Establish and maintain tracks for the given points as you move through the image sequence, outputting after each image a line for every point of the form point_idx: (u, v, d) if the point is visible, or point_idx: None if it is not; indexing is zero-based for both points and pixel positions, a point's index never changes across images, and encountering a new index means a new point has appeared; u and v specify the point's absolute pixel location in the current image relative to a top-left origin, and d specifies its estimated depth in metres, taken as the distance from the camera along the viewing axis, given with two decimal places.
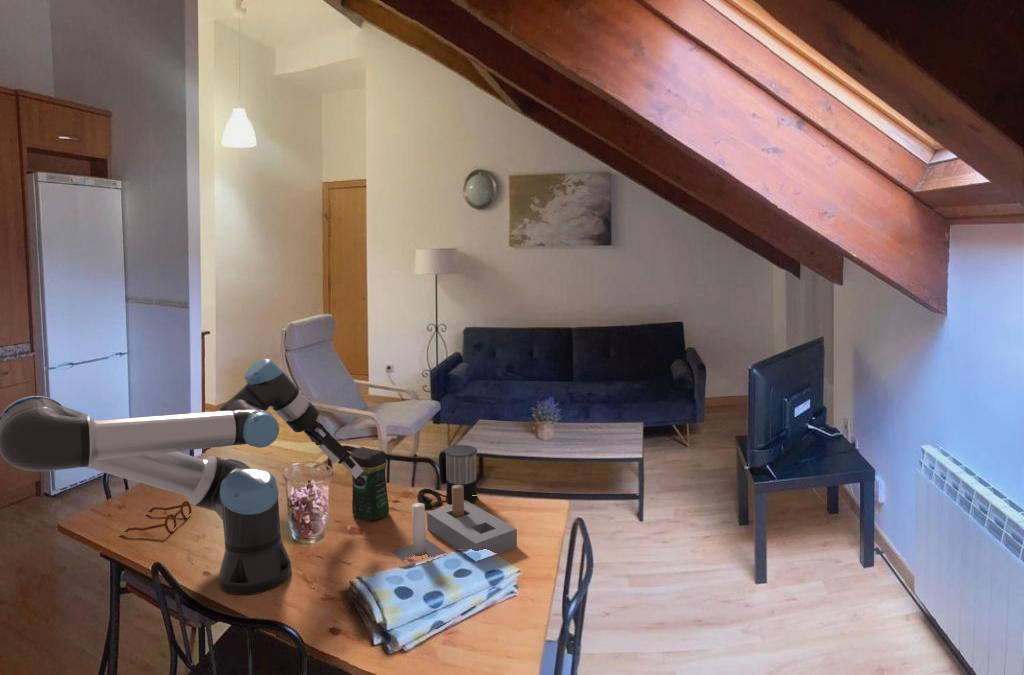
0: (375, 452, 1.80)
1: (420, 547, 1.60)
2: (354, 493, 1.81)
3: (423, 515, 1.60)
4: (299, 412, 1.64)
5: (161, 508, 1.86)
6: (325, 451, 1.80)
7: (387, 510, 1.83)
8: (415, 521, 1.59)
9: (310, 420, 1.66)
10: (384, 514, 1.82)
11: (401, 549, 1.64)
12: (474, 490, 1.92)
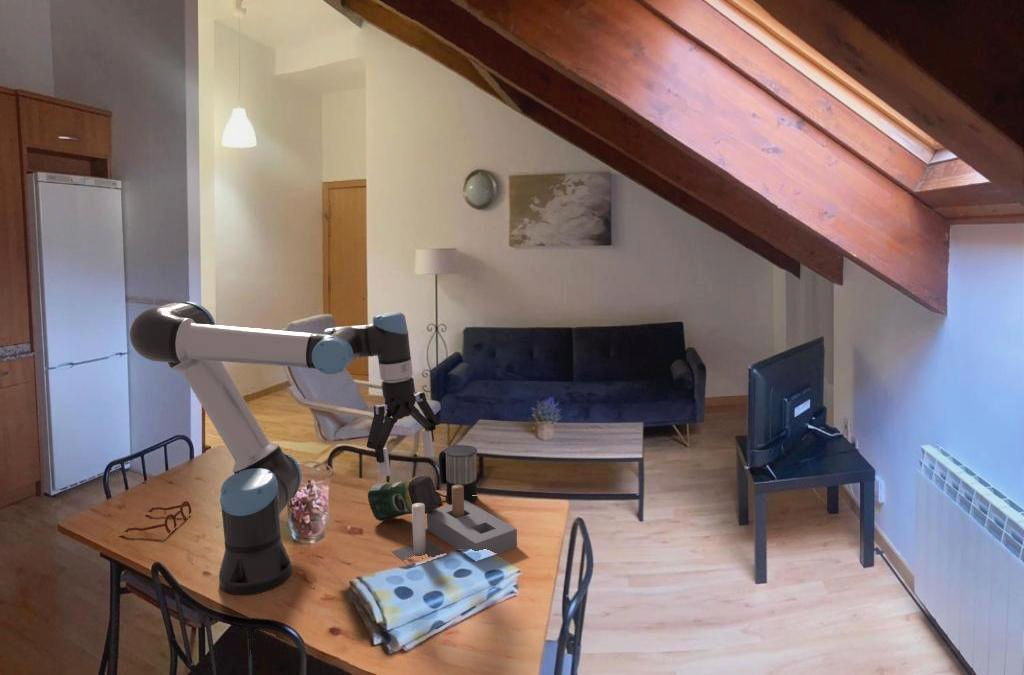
0: (433, 505, 1.72)
1: (420, 547, 1.60)
2: (386, 498, 1.75)
3: (423, 515, 1.60)
4: (383, 378, 1.56)
5: (161, 508, 1.86)
6: (423, 438, 1.67)
7: None
8: (415, 521, 1.59)
9: (386, 392, 1.56)
10: None
11: (401, 549, 1.64)
12: (474, 490, 1.92)
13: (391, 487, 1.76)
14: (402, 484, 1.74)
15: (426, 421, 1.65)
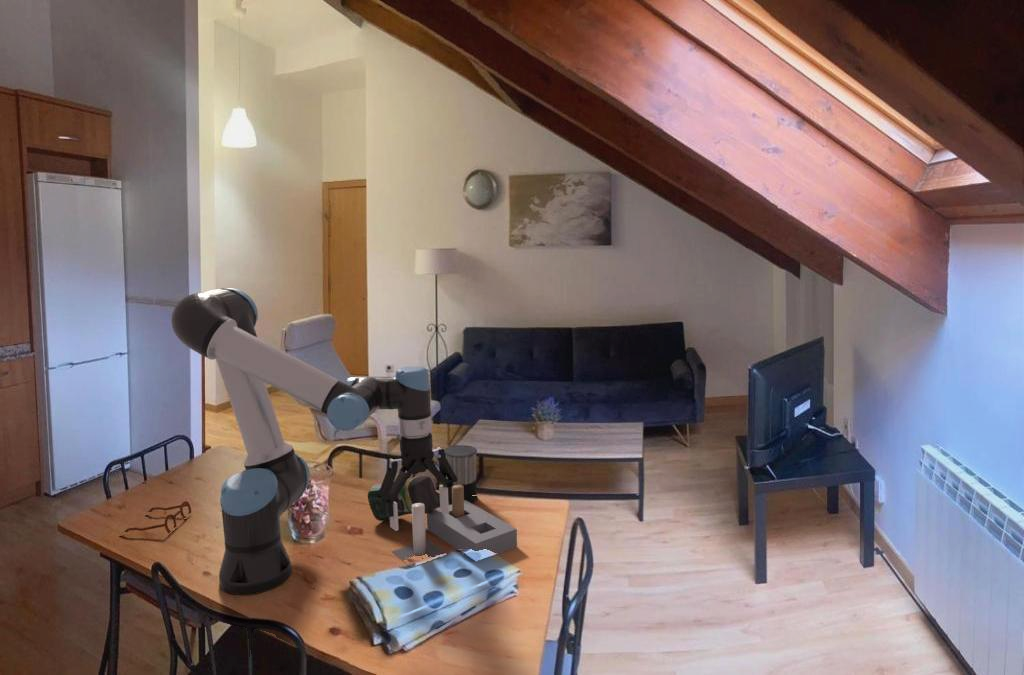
0: (433, 505, 1.72)
1: (420, 547, 1.60)
2: None
3: (423, 515, 1.60)
4: (400, 432, 1.55)
5: (161, 508, 1.86)
6: (440, 493, 1.65)
7: None
8: (415, 521, 1.59)
9: (402, 447, 1.55)
10: None
11: (401, 549, 1.64)
12: (474, 490, 1.92)
13: None
14: None
15: (443, 478, 1.62)
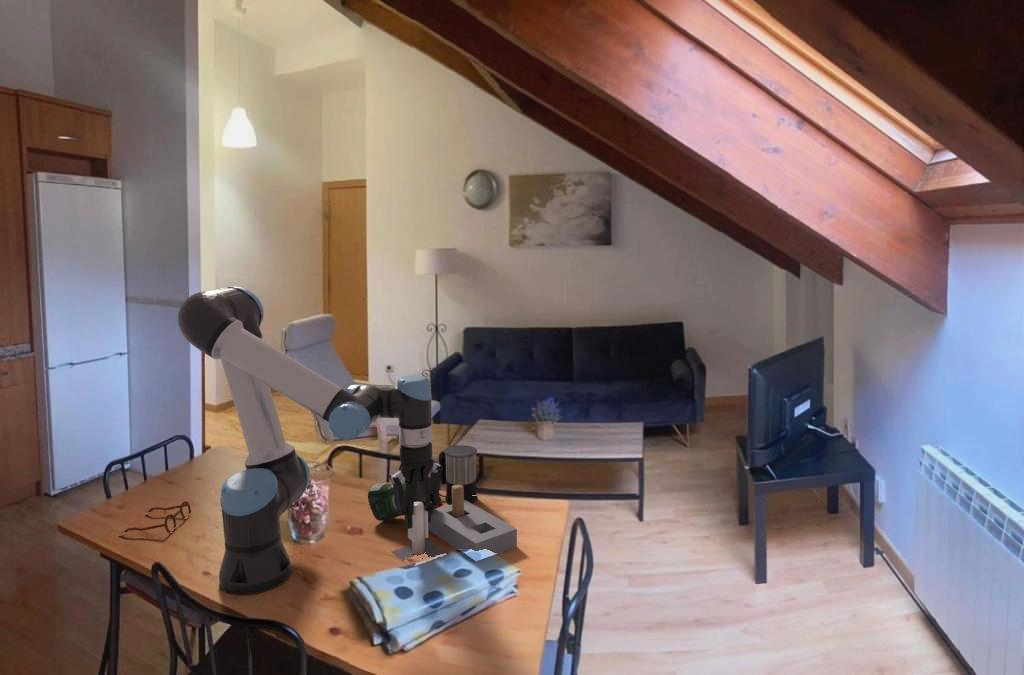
0: None
1: (419, 546, 1.60)
2: (386, 498, 1.75)
3: (422, 514, 1.60)
4: (400, 441, 1.55)
5: (160, 508, 1.86)
6: None
7: None
8: None
9: (402, 456, 1.55)
10: None
11: (401, 549, 1.64)
12: (474, 490, 1.92)
13: (391, 487, 1.76)
14: (402, 484, 1.74)
15: (428, 498, 1.60)
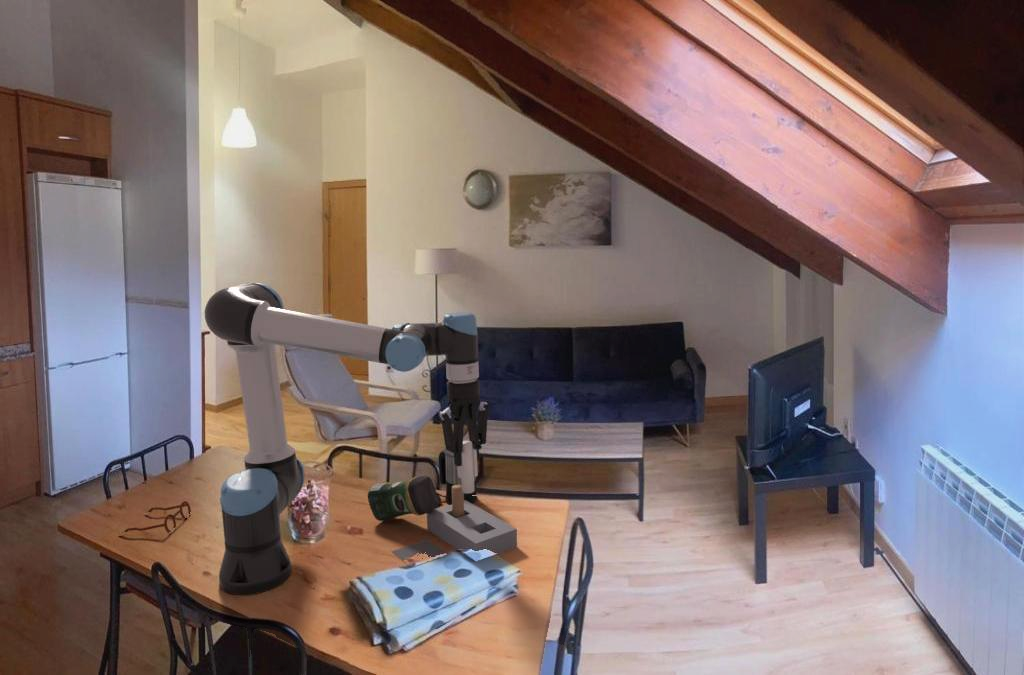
0: (433, 505, 1.72)
1: (469, 484, 1.60)
2: (386, 498, 1.75)
3: (471, 452, 1.60)
4: (448, 377, 1.55)
5: (160, 508, 1.86)
6: None
7: None
8: None
9: (450, 393, 1.55)
10: None
11: (401, 549, 1.64)
12: None
13: (391, 487, 1.76)
14: (402, 484, 1.74)
15: (476, 436, 1.60)
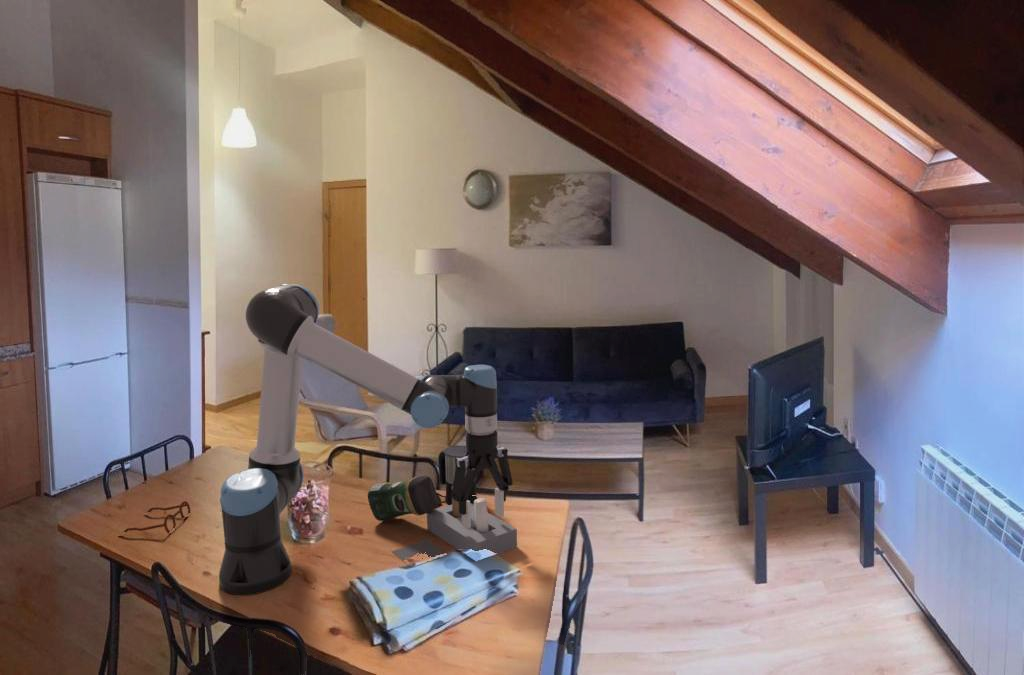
0: (433, 505, 1.72)
1: None
2: (386, 498, 1.75)
3: (486, 510, 1.63)
4: (467, 429, 1.58)
5: (160, 508, 1.85)
6: (495, 496, 1.67)
7: None
8: (478, 516, 1.63)
9: (469, 444, 1.58)
10: None
11: (401, 549, 1.64)
12: (473, 491, 1.91)
13: (391, 487, 1.76)
14: (402, 484, 1.74)
15: (501, 479, 1.65)
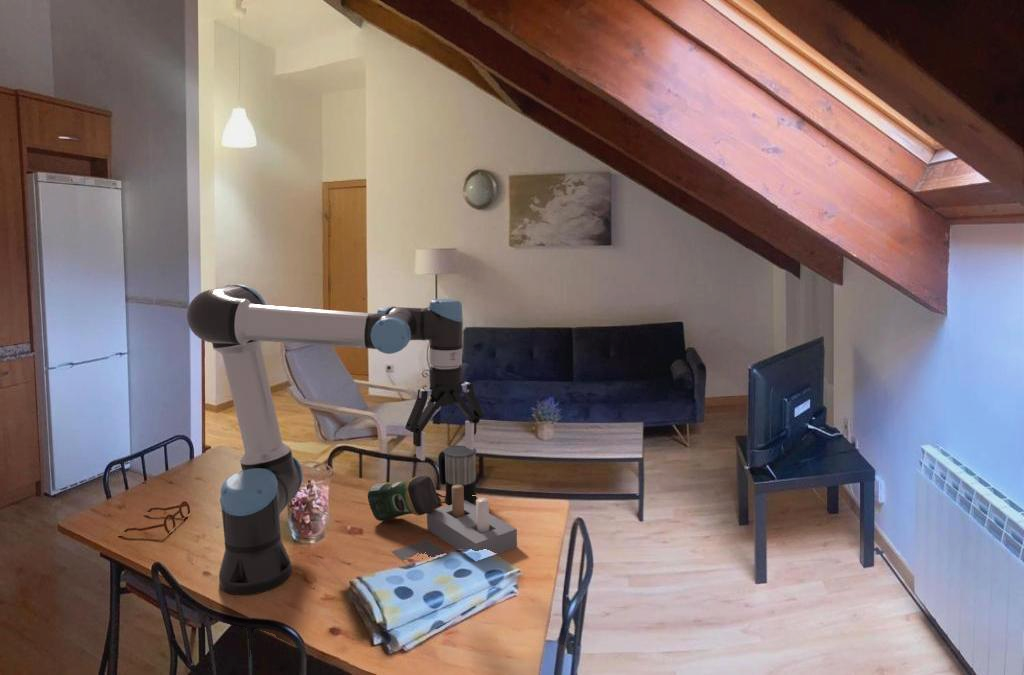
0: (433, 505, 1.72)
1: None
2: (386, 498, 1.75)
3: (487, 510, 1.63)
4: (431, 363, 1.56)
5: (160, 508, 1.85)
6: (466, 429, 1.66)
7: None
8: (479, 515, 1.63)
9: (433, 378, 1.56)
10: None
11: (401, 549, 1.64)
12: (473, 491, 1.91)
13: (391, 487, 1.76)
14: (402, 484, 1.74)
15: (470, 413, 1.63)
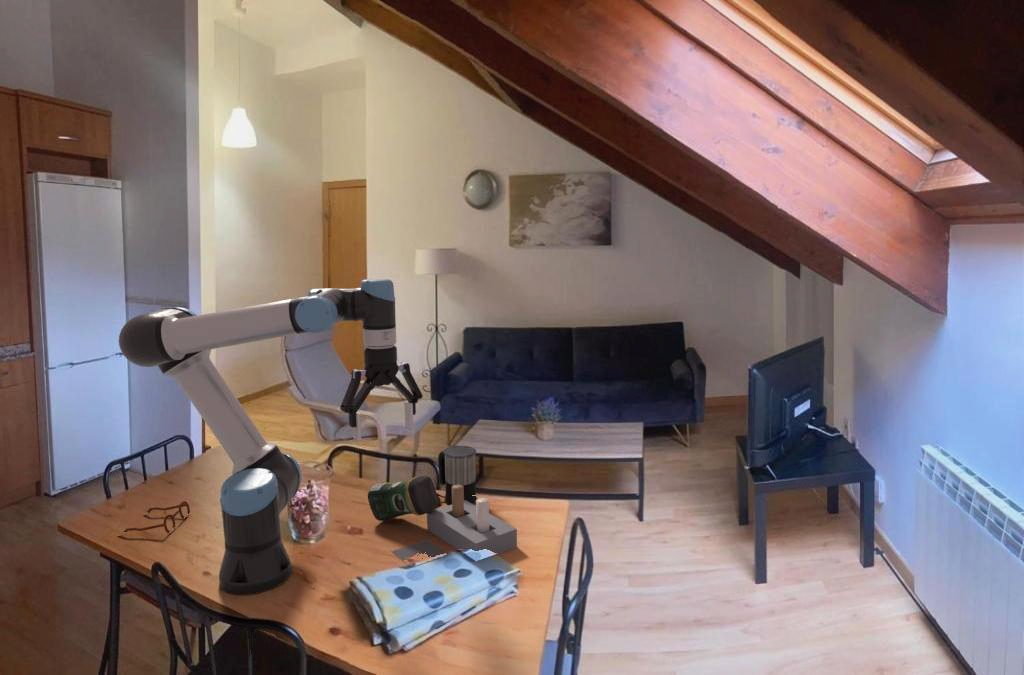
0: (433, 505, 1.72)
1: None
2: (386, 498, 1.75)
3: (487, 510, 1.63)
4: (364, 343, 1.55)
5: (159, 508, 1.85)
6: (405, 410, 1.65)
7: None
8: (480, 516, 1.63)
9: (366, 358, 1.55)
10: None
11: (401, 549, 1.64)
12: (473, 491, 1.91)
13: (391, 487, 1.76)
14: (402, 484, 1.74)
15: (408, 393, 1.62)
